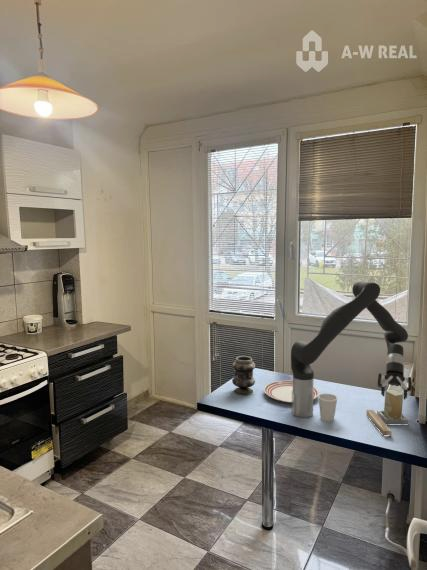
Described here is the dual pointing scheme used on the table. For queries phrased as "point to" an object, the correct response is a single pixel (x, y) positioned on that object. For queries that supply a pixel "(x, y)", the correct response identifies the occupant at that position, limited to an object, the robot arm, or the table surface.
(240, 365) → the dark carved vase
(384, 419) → the tray
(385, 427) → the sill
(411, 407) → the table surface
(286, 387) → the dinner plate
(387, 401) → the skincare box
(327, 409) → the dixie cup
